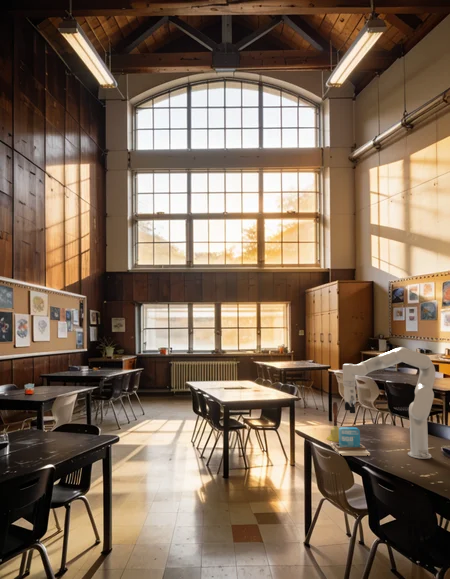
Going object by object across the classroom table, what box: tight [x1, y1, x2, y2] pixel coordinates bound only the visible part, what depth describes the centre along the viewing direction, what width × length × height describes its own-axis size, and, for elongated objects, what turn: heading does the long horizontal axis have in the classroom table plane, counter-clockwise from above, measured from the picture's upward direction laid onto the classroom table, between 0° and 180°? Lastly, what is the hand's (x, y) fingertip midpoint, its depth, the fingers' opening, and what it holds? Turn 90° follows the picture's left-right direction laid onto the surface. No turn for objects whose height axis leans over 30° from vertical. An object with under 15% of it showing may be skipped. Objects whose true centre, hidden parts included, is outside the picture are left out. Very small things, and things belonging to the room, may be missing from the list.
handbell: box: [326, 401, 340, 443], centre depth 297 cm, size 12×12×25 cm
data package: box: [338, 426, 361, 447], centre depth 269 cm, size 12×4×12 cm, turn 89°
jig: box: [329, 442, 371, 457], centre depth 269 cm, size 22×18×3 cm
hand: (349, 411), depth 271 cm, fingers open, 9 cm apart
